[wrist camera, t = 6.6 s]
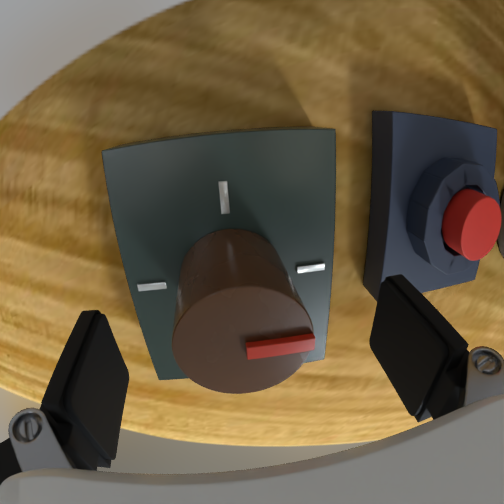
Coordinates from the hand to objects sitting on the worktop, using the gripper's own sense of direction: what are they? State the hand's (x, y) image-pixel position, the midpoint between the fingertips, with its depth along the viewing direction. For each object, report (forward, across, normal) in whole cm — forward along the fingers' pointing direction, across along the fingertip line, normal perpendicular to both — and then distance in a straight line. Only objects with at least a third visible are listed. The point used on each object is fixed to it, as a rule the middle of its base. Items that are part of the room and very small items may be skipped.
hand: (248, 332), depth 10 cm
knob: (+5, 0, +1) cm, 5 cm away
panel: (+8, 0, +1) cm, 8 cm away
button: (+4, -13, -1) cm, 14 cm away
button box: (+8, -13, -1) cm, 15 cm away
